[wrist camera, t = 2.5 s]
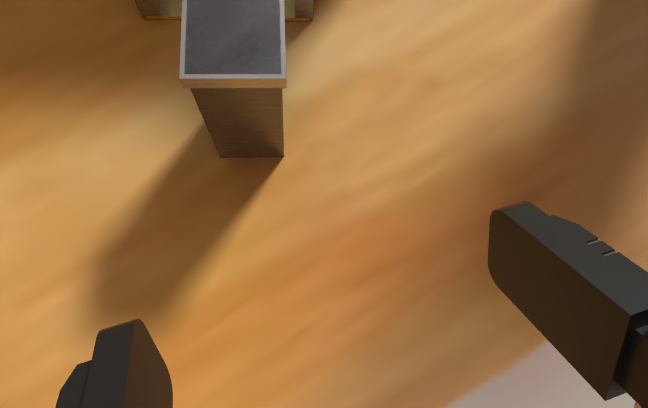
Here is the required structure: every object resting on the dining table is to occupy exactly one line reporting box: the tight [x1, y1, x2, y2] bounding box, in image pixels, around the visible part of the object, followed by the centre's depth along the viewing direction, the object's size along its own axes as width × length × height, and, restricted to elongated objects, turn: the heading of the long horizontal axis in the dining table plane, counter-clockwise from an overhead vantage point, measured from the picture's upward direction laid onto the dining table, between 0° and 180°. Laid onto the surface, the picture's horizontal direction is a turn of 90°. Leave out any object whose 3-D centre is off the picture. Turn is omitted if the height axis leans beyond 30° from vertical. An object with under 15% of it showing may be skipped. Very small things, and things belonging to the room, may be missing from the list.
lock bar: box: [179, 0, 286, 158], centre depth 24 cm, size 4×4×10 cm
